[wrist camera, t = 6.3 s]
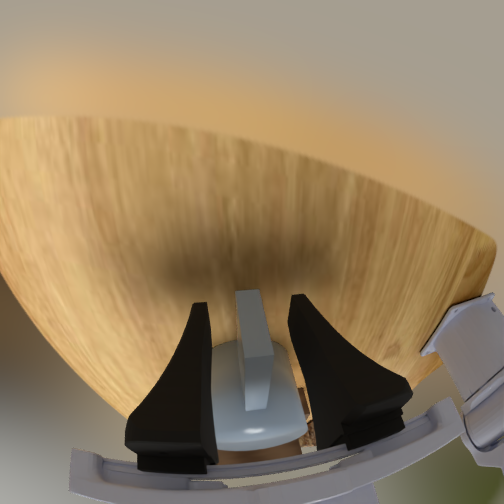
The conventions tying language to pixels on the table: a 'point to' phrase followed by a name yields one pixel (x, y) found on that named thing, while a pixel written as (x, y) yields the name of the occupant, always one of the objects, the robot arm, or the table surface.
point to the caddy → (267, 453)
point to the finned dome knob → (254, 385)
